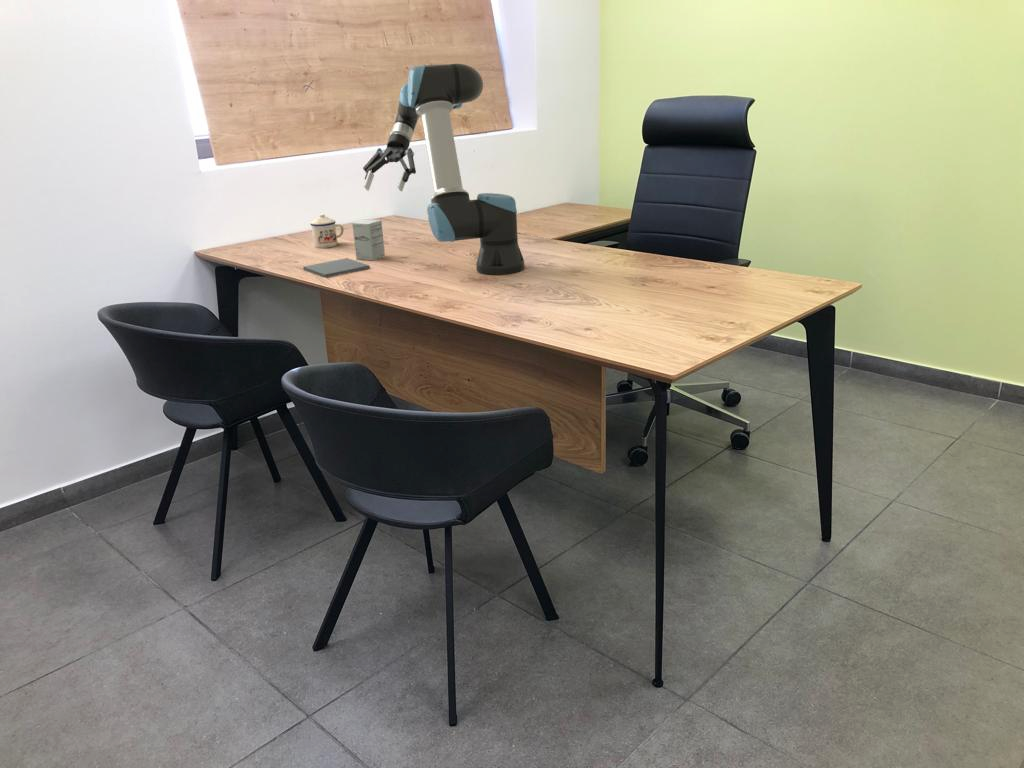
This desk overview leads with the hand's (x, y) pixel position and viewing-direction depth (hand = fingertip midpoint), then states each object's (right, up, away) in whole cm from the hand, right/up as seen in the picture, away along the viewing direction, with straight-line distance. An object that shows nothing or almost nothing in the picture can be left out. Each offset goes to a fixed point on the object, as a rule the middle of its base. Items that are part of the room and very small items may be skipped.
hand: (382, 188), depth 282 cm
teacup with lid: (-23, -16, +21) cm, 35 cm away
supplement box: (-4, -25, -3) cm, 25 cm away
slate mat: (-13, -30, -17) cm, 37 cm away
